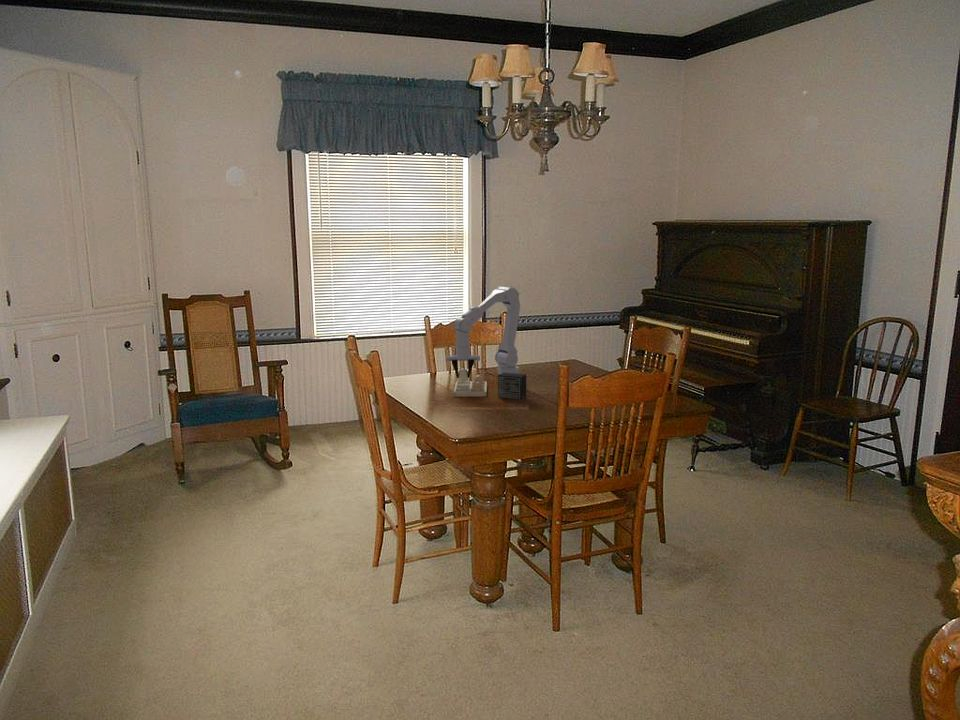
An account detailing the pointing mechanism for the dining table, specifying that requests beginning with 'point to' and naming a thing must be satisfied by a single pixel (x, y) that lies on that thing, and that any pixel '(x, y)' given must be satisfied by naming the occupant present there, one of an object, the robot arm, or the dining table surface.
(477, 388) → the tan egg
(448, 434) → the dining table surface
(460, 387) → the grey divided tray
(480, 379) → the tan egg
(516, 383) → the small box
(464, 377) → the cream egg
